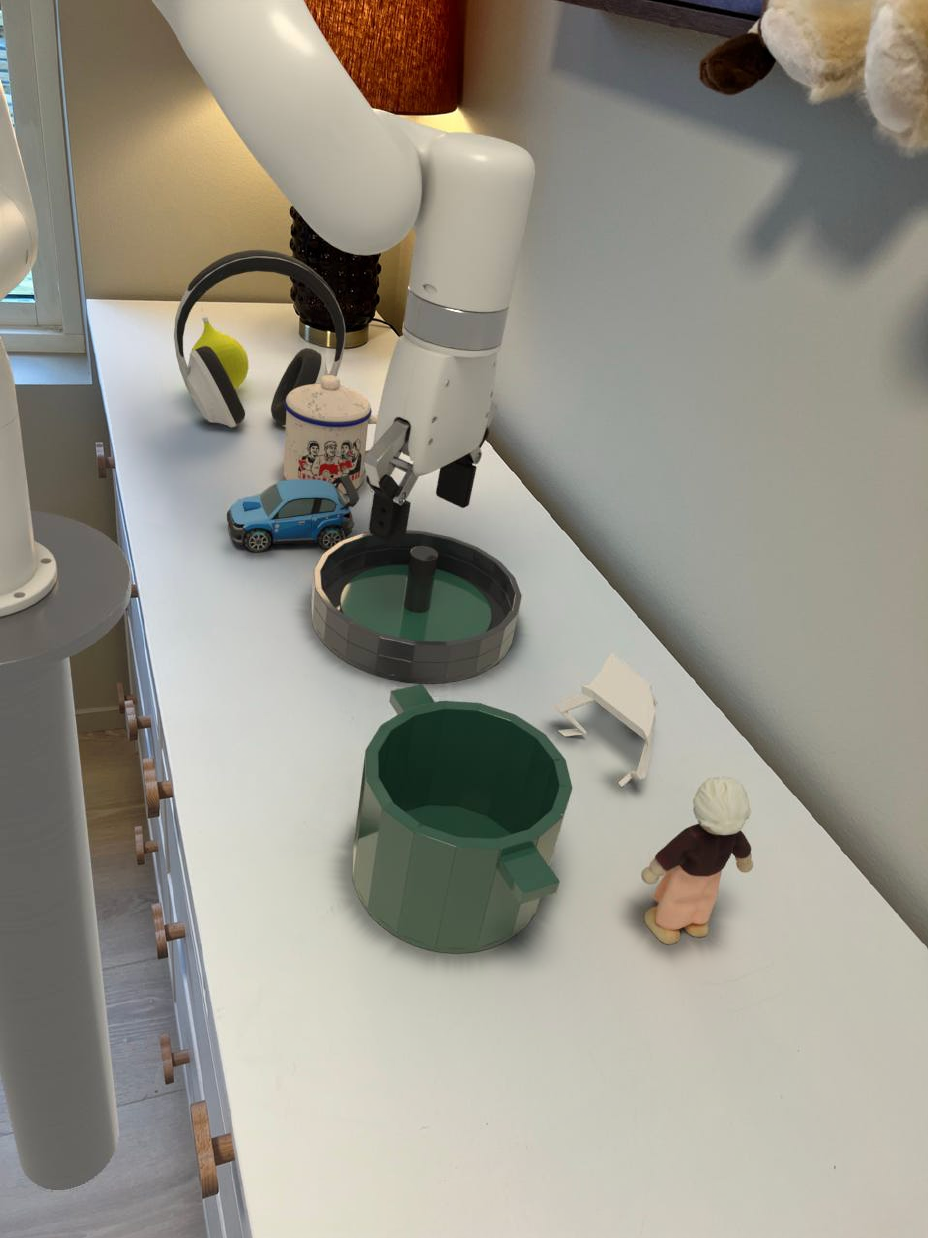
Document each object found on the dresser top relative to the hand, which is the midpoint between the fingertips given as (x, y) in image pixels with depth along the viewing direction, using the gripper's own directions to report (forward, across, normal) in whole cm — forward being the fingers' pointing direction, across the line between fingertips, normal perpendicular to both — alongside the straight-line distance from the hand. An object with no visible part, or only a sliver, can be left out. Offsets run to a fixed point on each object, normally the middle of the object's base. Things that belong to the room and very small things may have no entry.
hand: (420, 519), depth 82 cm
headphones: (+11, -21, -36) cm, 43 cm away
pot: (+10, +22, +19) cm, 31 cm away
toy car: (+11, -3, -16) cm, 20 cm away
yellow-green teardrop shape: (+11, -24, -46) cm, 53 cm away
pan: (+10, 0, +1) cm, 10 cm away
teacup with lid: (+11, -17, -21) cm, 29 cm away
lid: (+9, -1, +1) cm, 9 cm away
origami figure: (+10, +2, +22) cm, 24 cm away
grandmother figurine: (+10, +16, +33) cm, 38 cm away
